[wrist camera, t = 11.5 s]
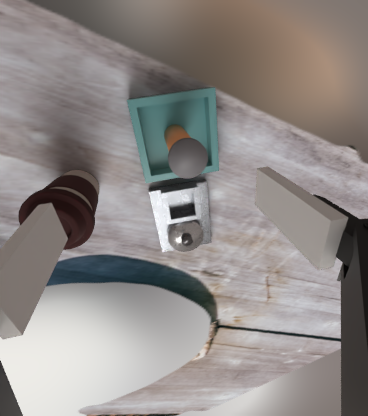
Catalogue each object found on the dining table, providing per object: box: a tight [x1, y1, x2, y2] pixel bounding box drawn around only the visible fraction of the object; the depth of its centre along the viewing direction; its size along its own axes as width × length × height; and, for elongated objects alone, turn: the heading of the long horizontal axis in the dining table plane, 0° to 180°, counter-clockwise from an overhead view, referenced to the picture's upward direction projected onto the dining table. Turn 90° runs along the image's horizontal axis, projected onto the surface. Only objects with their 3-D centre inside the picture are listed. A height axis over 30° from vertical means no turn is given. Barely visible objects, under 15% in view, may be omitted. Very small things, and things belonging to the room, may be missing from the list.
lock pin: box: [164, 124, 208, 178], centre depth 34 cm, size 5×5×15 cm
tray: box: [127, 87, 219, 183], centre depth 40 cm, size 14×14×4 cm
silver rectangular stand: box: [149, 179, 211, 252], centre depth 48 cm, size 12×17×5 cm
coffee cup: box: [19, 170, 99, 250], centre depth 37 cm, size 10×10×15 cm
